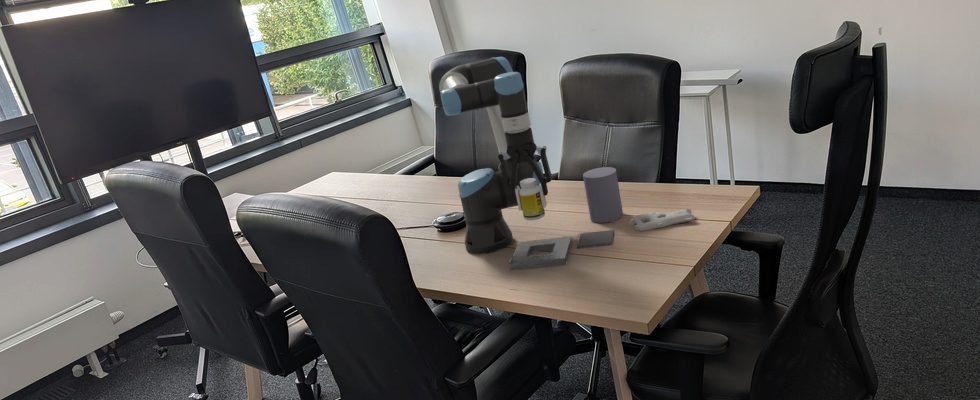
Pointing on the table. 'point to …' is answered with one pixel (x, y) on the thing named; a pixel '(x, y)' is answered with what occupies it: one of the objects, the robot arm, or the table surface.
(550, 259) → the housing plate
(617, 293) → the table surface
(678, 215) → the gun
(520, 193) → the pill bottle
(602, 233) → the rubber mat
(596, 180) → the container
